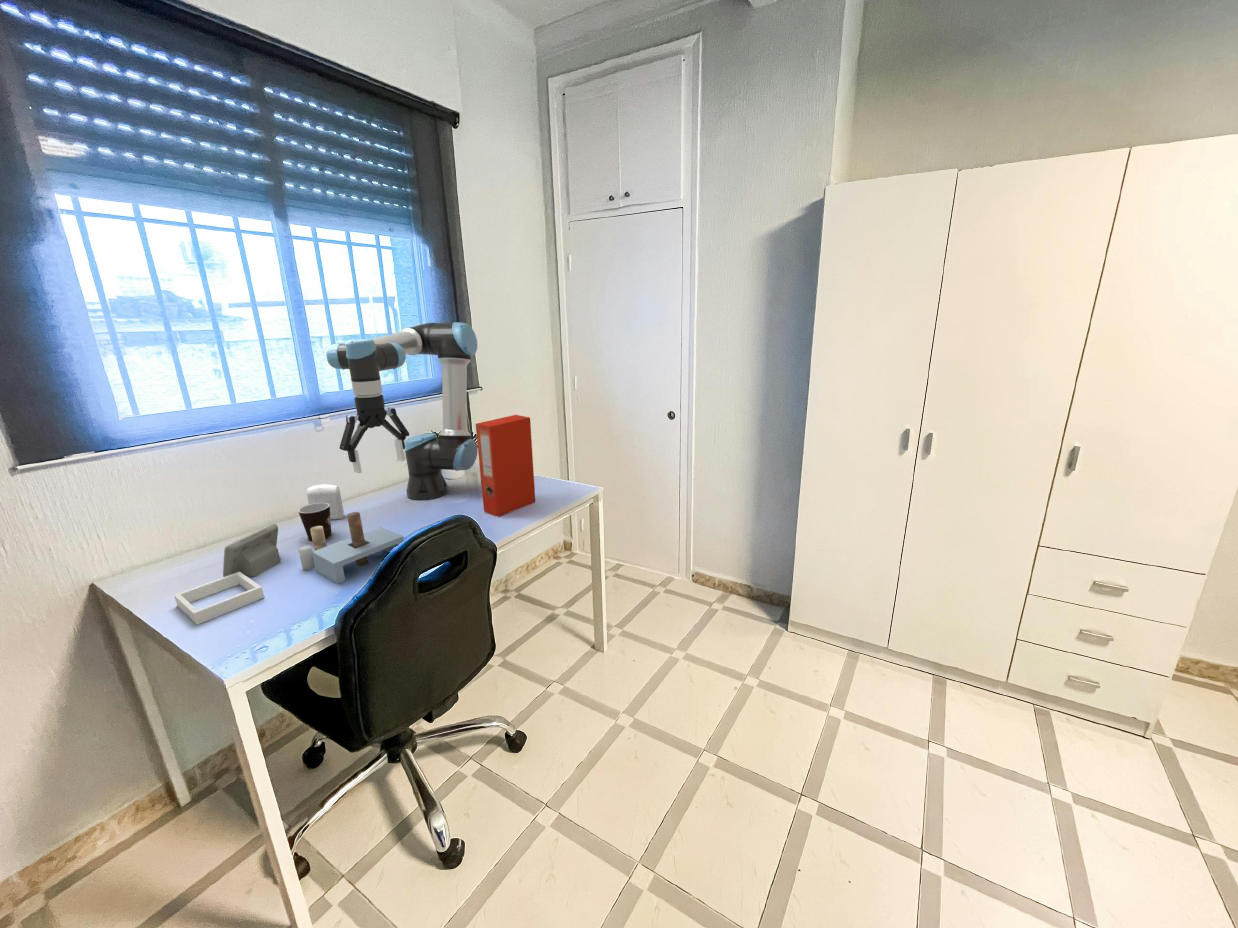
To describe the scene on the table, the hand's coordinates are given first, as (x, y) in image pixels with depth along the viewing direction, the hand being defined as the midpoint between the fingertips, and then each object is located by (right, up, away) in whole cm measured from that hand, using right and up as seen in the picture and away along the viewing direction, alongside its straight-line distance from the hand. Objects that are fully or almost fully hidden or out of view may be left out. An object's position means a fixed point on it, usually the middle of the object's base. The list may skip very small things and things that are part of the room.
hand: (380, 466), depth 153 cm
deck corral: (-29, -34, -24) cm, 51 cm away
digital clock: (-32, -29, -8) cm, 44 cm away
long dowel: (-2, -28, -6) cm, 28 cm away
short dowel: (-16, -29, -8) cm, 34 cm away
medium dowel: (-16, -26, -2) cm, 31 cm away
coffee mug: (-24, -22, +13) cm, 35 cm away
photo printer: (-30, -18, +26) cm, 43 cm away
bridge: (-2, -28, -6) cm, 28 cm away
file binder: (+32, -15, +33) cm, 48 cm away
